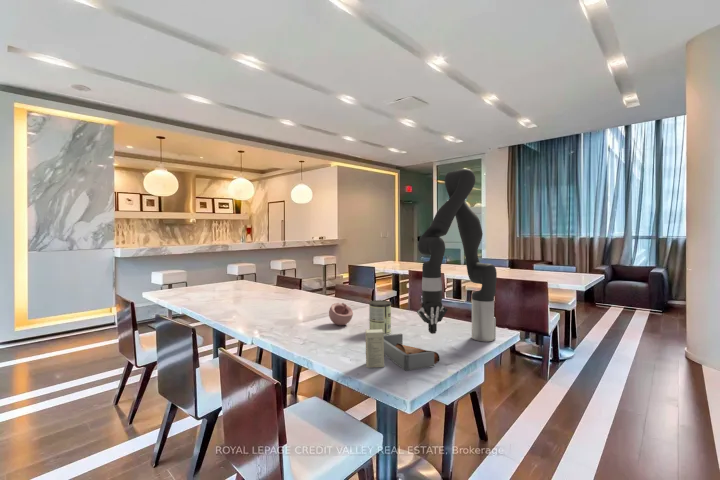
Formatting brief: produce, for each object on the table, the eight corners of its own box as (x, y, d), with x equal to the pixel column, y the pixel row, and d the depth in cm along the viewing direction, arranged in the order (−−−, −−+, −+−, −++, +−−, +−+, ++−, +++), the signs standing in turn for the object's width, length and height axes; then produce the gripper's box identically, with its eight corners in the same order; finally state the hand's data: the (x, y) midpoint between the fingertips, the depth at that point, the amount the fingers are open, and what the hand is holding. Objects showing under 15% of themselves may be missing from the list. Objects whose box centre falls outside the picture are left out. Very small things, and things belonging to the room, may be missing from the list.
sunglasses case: (385, 356, 131) (390, 339, 134) (393, 361, 136) (397, 344, 139) (430, 367, 121) (434, 348, 124) (437, 372, 126) (441, 354, 129)
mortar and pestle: (339, 329, 169) (339, 305, 169) (324, 324, 178) (324, 302, 178) (357, 325, 177) (357, 302, 177) (342, 320, 186) (342, 299, 186)
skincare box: (383, 363, 125) (383, 328, 125) (384, 367, 121) (384, 332, 121) (365, 363, 125) (365, 328, 125) (365, 367, 121) (365, 332, 121)
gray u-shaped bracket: (401, 345, 145) (401, 333, 145) (434, 366, 122) (434, 352, 122) (376, 348, 141) (376, 336, 141) (405, 370, 118) (405, 356, 118)
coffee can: (369, 329, 170) (370, 299, 170) (391, 329, 169) (391, 300, 169) (368, 335, 160) (368, 304, 160) (391, 335, 159) (391, 304, 159)
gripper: (440, 285, 142) (441, 328, 142) (411, 288, 137) (412, 332, 137) (452, 288, 135) (452, 333, 135) (422, 291, 130) (422, 338, 131)
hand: (432, 333), depth 136 cm, fingers closed
